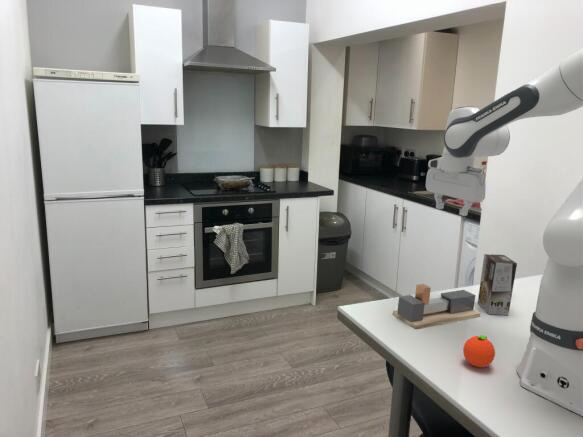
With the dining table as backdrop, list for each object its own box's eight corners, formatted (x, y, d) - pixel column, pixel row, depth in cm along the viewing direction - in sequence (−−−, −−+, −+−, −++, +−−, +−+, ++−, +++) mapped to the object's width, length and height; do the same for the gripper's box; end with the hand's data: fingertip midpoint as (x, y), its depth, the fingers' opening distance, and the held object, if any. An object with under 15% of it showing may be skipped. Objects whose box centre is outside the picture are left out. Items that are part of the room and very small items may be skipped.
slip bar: (452, 309, 137) (456, 283, 136) (411, 316, 131) (414, 289, 129) (445, 305, 140) (448, 280, 138) (404, 312, 133) (407, 286, 132)
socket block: (422, 320, 131) (424, 302, 130) (411, 322, 129) (413, 304, 128) (408, 311, 136) (410, 294, 135) (397, 313, 134) (399, 296, 133)
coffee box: (509, 315, 140) (518, 263, 136) (487, 314, 140) (495, 262, 137) (497, 303, 149) (504, 254, 145) (476, 302, 149) (483, 253, 145)
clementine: (468, 353, 116) (472, 326, 114) (498, 363, 112) (502, 335, 110) (456, 364, 110) (460, 336, 108) (487, 376, 106) (491, 347, 104)
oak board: (480, 316, 138) (480, 313, 138) (415, 328, 128) (416, 325, 127) (454, 303, 147) (455, 300, 147) (392, 314, 136) (392, 311, 136)
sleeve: (473, 309, 140) (475, 295, 139) (450, 313, 136) (452, 298, 135) (461, 303, 144) (463, 289, 143) (439, 307, 140) (441, 293, 139)
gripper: (494, 169, 128) (487, 219, 131) (440, 160, 146) (435, 204, 149) (477, 169, 125) (470, 220, 129) (424, 160, 143) (419, 205, 146)
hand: (451, 211), depth 139 cm, fingers open, 8 cm apart
